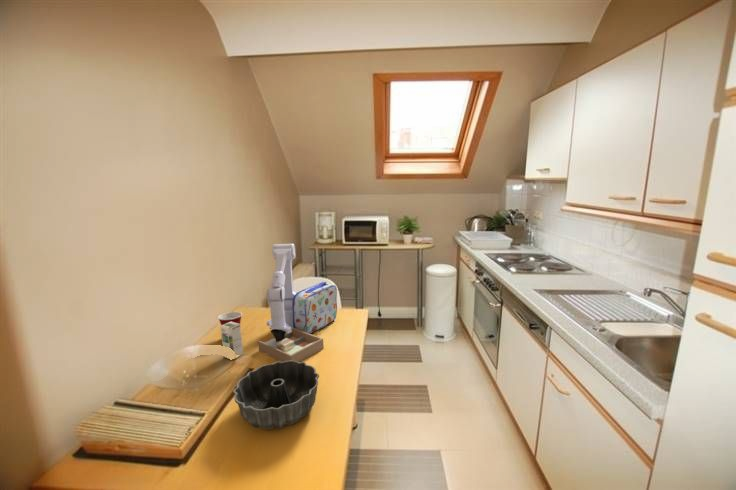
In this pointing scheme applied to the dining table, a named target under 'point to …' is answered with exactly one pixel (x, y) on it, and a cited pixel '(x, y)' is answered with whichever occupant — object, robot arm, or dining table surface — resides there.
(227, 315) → the plastic cup
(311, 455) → the dining table surface
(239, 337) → the syrup box
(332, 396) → the dining table surface
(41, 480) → the dining table surface
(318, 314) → the lunch box
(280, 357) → the divided box
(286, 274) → the robot arm
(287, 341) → the ash block
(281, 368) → the bundt pan
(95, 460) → the dining table surface
